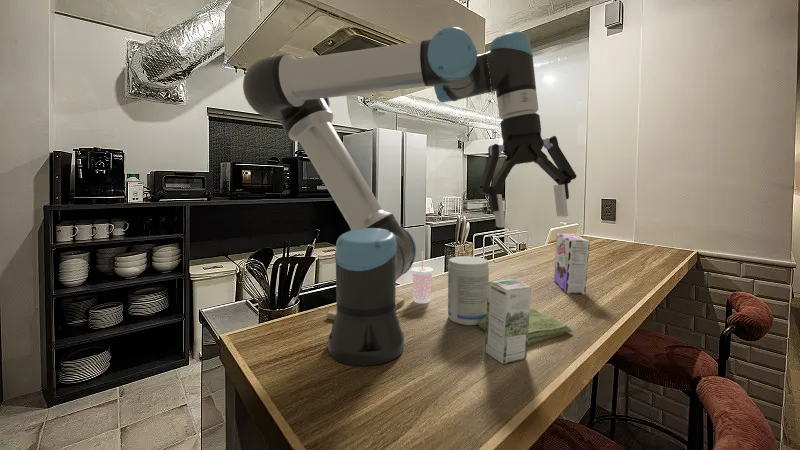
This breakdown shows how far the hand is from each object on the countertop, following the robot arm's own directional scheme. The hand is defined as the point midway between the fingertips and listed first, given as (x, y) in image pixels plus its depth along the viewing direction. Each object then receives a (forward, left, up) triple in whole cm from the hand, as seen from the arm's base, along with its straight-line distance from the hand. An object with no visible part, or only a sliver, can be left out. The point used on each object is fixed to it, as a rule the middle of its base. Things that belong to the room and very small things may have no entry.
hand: (532, 221), depth 75 cm
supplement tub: (+3, +15, -25) cm, 30 cm away
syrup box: (-10, +1, -25) cm, 27 cm away
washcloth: (+5, +2, -26) cm, 26 cm away
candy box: (+46, 0, -26) cm, 53 cm away
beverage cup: (+8, +31, -25) cm, 41 cm away
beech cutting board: (-7, +38, -25) cm, 46 cm away
